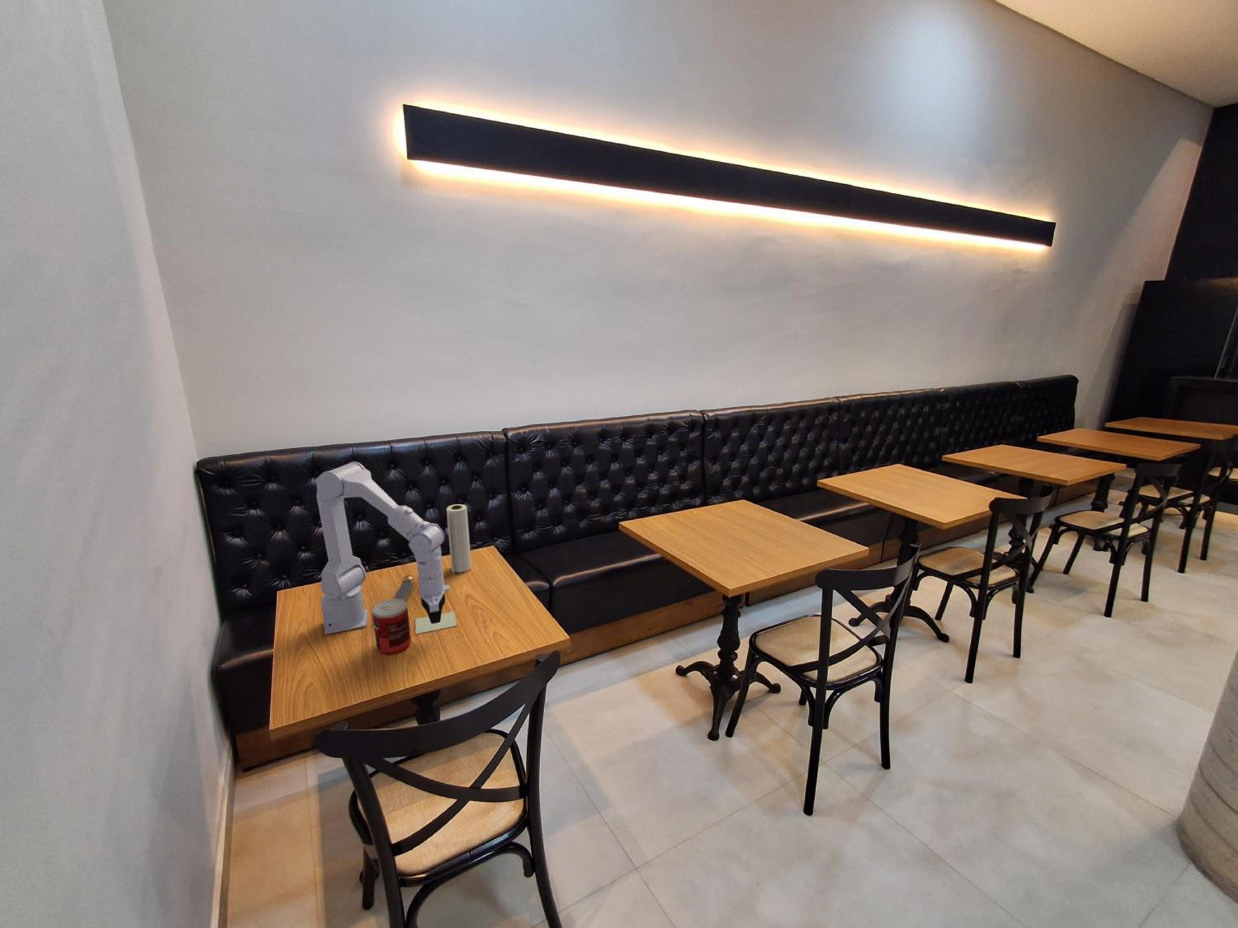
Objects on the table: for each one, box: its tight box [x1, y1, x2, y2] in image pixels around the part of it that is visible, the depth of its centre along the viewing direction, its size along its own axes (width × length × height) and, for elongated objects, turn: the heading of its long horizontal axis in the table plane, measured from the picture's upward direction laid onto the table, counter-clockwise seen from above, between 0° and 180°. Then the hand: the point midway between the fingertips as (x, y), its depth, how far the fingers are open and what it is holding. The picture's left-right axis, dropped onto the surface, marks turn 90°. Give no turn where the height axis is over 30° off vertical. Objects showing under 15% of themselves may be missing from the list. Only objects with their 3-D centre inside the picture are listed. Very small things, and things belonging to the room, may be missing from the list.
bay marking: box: [414, 611, 457, 635], centre depth 135 cm, size 10×7×1 cm
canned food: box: [371, 598, 412, 656], centre depth 124 cm, size 8×8×11 cm
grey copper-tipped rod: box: [393, 574, 415, 603], centre depth 143 cm, size 18×3×3 cm, turn 8°
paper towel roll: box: [445, 503, 472, 576], centre depth 160 cm, size 7×6×21 cm
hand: (435, 621), depth 128 cm, fingers closed
